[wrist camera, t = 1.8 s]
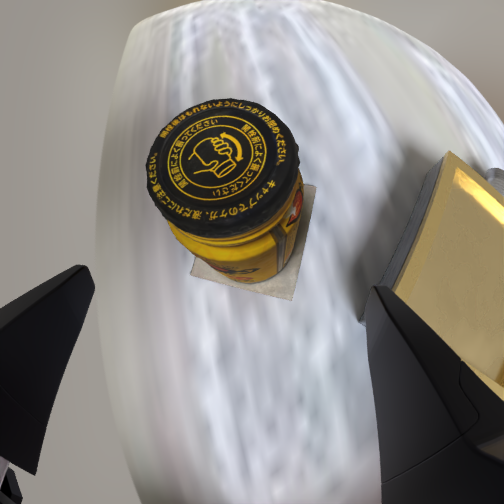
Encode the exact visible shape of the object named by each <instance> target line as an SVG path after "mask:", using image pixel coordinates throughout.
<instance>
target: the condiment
mask: <svg viewBox="0 0 504 504" xmlns="http://www.w3.org/2000/svg"><path fill="white" fill-rule="evenodd" d="M298 151H299V146H298V145H297V144H296V143H295V139H294V137H293V135H292V133H291V131H290V129H289V128H288V127H287V126H286V125H285V124H284V123H283V122H282V121H281V120H280V119H279V118H278V117H277V116H276V115H275V114H274V113H272V112H271V111H269V110H268V109H266V108H265V107H263V106H262V105H260V104H258V103H254V102H250V101H246V100H237V99H232V98H229V99H218V100H210V101H206V102H204V103H201V104H198V105H196V106H193V107H191V108H189V109H187V110H185V111H184V112H182V113H180V114H179V115H178V116H176V117H175V118H174V119H173V120H172V121H171V122H170V123H169V124H168V125H167V126H166V127H164V128H163V129H162V130H161V131H160V133H159V135H158V136H157V138H156V139H155V141H154V144H153V146H152V147H151V149H150V153H149V156H148V158H147V163H146V171H147V189H148V192H149V195H150V196H151V198H152V200H153V201H154V203H155V206H156V207H157V208H158V209H159V210H160V212H161V213H162V216H164V217H165V219H166V220H167V222H168V224H169V226H170V229H171V231H172V232H173V234H174V235H175V237H176V239H177V240H178V241H179V242H180V243H181V244H182V245H183V246H185V247H186V248H187V249H188V250H189V251H190V252H191V253H192V254H194V255H195V256H196V258H195V262H194V265H193V269H192V272H191V274H190V275H191V276H195V277H198V278H202V279H206V280H210V281H213V282H217V283H221V284H225V285H228V286H232V287H236V288H240V289H244V290H248V291H252V292H256V293H261V294H265V295H270V296H273V297H277V298H282V299H286V300H290V301H292V298H293V294H294V290H295V286H296V282H297V277H298V273H299V268H300V264H301V260H302V255H303V251H304V246H305V241H306V237H307V232H308V227H309V222H310V218H311V213H312V208H313V203H314V198H315V192H316V187H314V186H309V185H304V184H303V179H302V176H301V173H300V171H299V168H298V167H299V164H300V160H299V157H298Z"/></svg>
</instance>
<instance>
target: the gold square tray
mask: <svg viewBox="0 0 504 504" xmlns="http://www.w3.org/2000/svg"><path fill="white" fill-rule="evenodd" d="M379 285H386V286H388V287H389V288H390V289H391V290H392V291H393V292H394V293H395V294H396V295H397V296H399V297H400V298H401V299H402V300H403V301H404V302H405V303H406V304H407V305H408V306H409V307H410V308H411V309H412V310H413V311H414V312H415V313H416V314H418V315H419V316H420V317H421V318H422V319H423V320H424V321H425V322H426V323H427V324H428V325H429V326H430V327H431V328H432V329H433V330H434V331H435V332H436V333H437V334H438V335H439V336H440V337H441V338H442V339H443V340H444V341H445V342H446V343H447V344H448V345H449V346H450V347H451V348H452V349H453V350H454V351H455V353H456V354H457V355H458V356H459V357H460V358H461V361H462V360H463V361H464V362H465V363H466V364H467V365H468V366H469V367H470V368H471V369H472V370H473V371H474V372H475V374H476V375H477V376H478V377H479V378H480V379H481V380H482V381H483V382H484V383H485V384H486V385H487V386H488V387H489V388H490V389H491V390H492V391H493V392H495V393H496V394H497V395H498V396H499V397H500V398H501V399H502V400H503V401H504V171H503V170H502V169H499V168H491V169H489V170H487V172H486V173H485V179H484V178H483V177H482V176H480V175H479V174H478V173H477V172H476V171H475V170H473V169H472V168H471V167H470V166H469V165H467V164H466V163H465V162H464V161H462V160H461V159H460V158H459V157H457V156H456V155H455V154H453V153H452V152H451V151H448V152H447V153H446V154H445V155H444V157H442V158H441V159H440V160H439V162H438V163H437V164H436V165H435V166H434V167H433V168H432V169H431V170H430V171H429V172H428V173H427V176H426V179H425V182H424V184H423V187H422V190H421V192H420V195H419V198H418V200H417V203H416V205H415V208H414V210H413V213H412V215H411V218H410V220H409V222H408V225H407V227H406V229H405V232H404V234H403V236H402V238H401V241H400V243H399V245H398V247H397V249H396V252H395V254H394V256H393V258H392V260H391V262H390V264H389V266H388V268H387V270H386V272H385V274H384V276H383V278H382V280H381V282H380V284H379ZM359 323H360V324H362V325H363V326H365V327H366V321H365V312H364V313H363V315H362V317H361V319H360V320H359Z"/></svg>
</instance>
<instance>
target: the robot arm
mask: <svg viewBox="0 0 504 504" xmlns="http://www.w3.org/2000/svg"><path fill="white" fill-rule="evenodd" d="M94 291H95V284H94V281H93V279H92V277H91V274H90V271H89V269H88V267H87V266H85V265H75V266H73V267H71V268H69V269H67V270H66V271H64V272H62V273H60V274H58V275H56V276H55V277H53V278H51V279H49V280H48V281H46V282H44V283H42V284H40V285H39V286H37V287H35V288H34V289H32V290H30V291H28V292H27V293H25V294H23V295H22V296H20V297H18V298H17V299H15V300H13V301H12V302H10V303H8V304H7V305H5V306H4V307H2V308H0V504H21V502H22V499H23V497H22V494H21V492H20V489H19V486H18V482H17V479H16V476H15V473H14V471H13V470H12V469H11V468H9V467H8V466H9V463H10V462H11V463H12V464H14V465H16V466H18V467H19V468H21V469H23V470H25V471H27V472H29V473H30V474H32V475H34V476H35V474H36V471H37V467H38V462H39V457H40V453H41V448H42V444H43V440H44V436H45V432H46V427H47V424H48V421H49V417H50V414H51V410H52V407H53V404H54V401H55V398H56V394H57V392H58V389H59V385H60V383H61V380H62V377H63V374H64V372H65V369H66V366H67V363H68V361H69V358H70V356H71V353H72V350H73V348H74V346H75V343H76V341H77V338H78V336H79V333H80V331H81V328H82V326H83V323H84V320H85V317H86V314H87V311H88V308H89V305H90V302H91V299H92V297H93V294H94ZM365 321H366V334H367V351H368V361H369V368H370V374H371V381H372V387H373V395H374V402H375V410H376V419H377V428H378V439H379V451H380V466H381V483H382V484H381V493H382V504H504V401H503V400H502V399H501V398H500V397H499V396H498V395H497V394H496V393H495V392H493V391H492V390H491V389H490V388H489V387H488V386H487V385H486V384H485V383H484V382H483V381H482V380H481V379H480V378H479V377H478V376H477V375H476V374H475V372H474V371H473V370H472V369H471V368H470V367H469V366H468V365H467V364H466V363H465V362H464V361H463V360H462V361H461V358H460V357H459V356H458V355H457V354H456V353H455V351H454V350H453V349H452V348H451V347H450V346H449V345H448V344H447V343H446V342H445V341H444V340H443V339H442V338H441V337H440V336H439V335H438V334H437V333H436V332H435V331H434V330H433V329H432V328H431V327H430V326H429V325H428V324H427V323H426V322H425V321H424V320H423V319H422V318H421V317H420V316H419V315H418V314H416V313H415V312H414V311H413V310H412V309H411V308H410V307H409V306H408V305H407V304H406V303H405V302H404V301H403V300H402V299H401V298H400V297H399V296H397V295H396V294H395V293H394V292H393V291H392V290H391V289H390V288H389V287H388V286H386V285H373V286H372V288H371V290H370V294H369V297H368V300H367V303H366V306H365Z"/></svg>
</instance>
